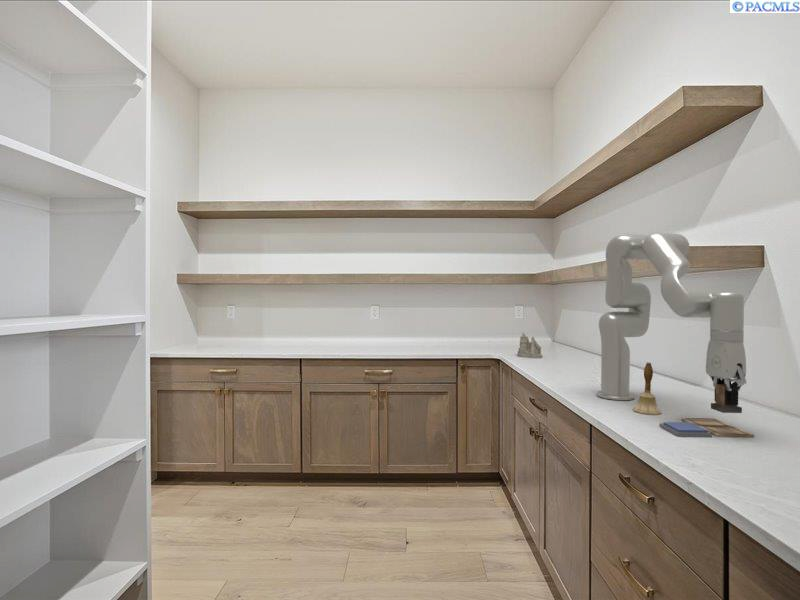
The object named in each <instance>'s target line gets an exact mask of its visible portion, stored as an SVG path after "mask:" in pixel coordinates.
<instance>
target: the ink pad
mask: <svg viewBox="0 0 800 600" xmlns="http://www.w3.org/2000/svg"><path fill="white" fill-rule="evenodd" d="M660 427H661V428H660ZM659 428H660V429H662V430H664V431H666V430H667V431H666V432H668V433H670V434H672V435H674V436H676V437H677V436H681V437H680V438H713V435H712V433H710V432H708V430H706V429H704V428H701V427H699V426H697V425H695V424H693V423H690V422H684V421H678V422H677V421H663V423H661V422H660V423H659Z"/></svg>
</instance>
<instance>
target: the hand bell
mask: <svg viewBox="0 0 800 600" xmlns="http://www.w3.org/2000/svg"><path fill="white" fill-rule="evenodd" d="M653 370H654V369H653V367H652V363H651V362H646V364H645V367H644V369H643V378H644V381H645V383H644V392H643V393H640V394H639V397H638V402H637V404H636V405H635V406H634V407H633V408H632V411H633V412H635V413H638V414H643V415H651V416H652V415H653V416H657V415H661V414H663V413H662V412H663V411H662V410H660V408H659V407H658V404H657V401H656V396H655V395H654V394H653V393H652V391H651V390H652V389H651V385H652V380H653V375H654V371H653Z"/></svg>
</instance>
